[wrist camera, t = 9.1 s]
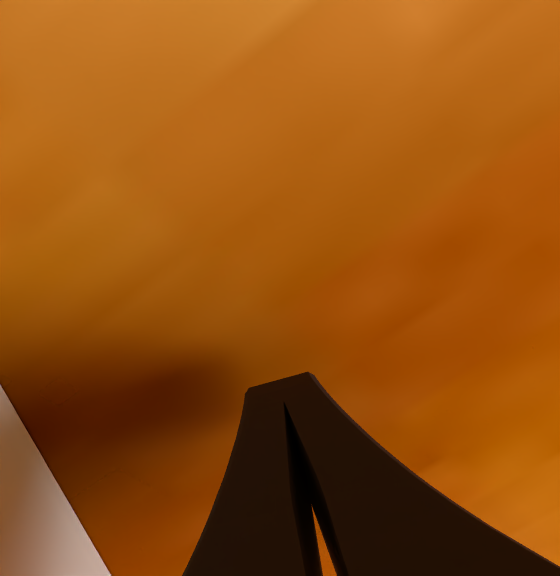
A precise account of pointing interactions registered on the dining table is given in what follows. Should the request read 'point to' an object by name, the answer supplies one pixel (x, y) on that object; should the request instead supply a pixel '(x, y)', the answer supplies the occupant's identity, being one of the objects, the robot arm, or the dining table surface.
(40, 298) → the dining table surface
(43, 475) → the tray
